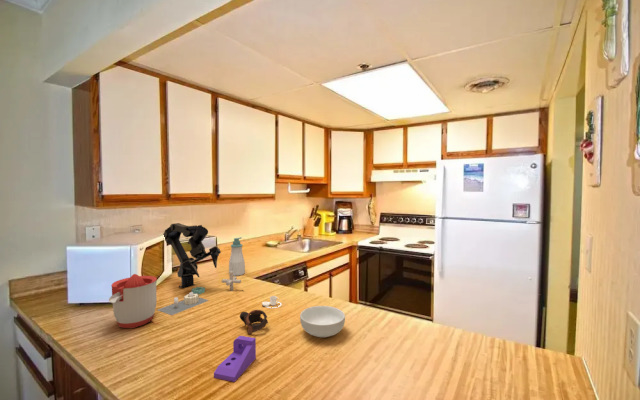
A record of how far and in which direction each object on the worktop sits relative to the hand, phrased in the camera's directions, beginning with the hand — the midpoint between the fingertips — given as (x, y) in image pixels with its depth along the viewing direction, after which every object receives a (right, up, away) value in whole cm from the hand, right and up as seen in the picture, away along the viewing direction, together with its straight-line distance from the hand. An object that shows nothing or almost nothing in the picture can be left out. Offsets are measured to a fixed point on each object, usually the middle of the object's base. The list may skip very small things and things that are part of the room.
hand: (207, 272), depth 148 cm
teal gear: (-5, -12, +2) cm, 13 cm away
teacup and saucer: (+33, -13, -9) cm, 37 cm away
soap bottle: (+4, -11, +38) cm, 40 cm away
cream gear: (-3, -11, -11) cm, 16 cm away
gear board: (-5, -13, -14) cm, 20 cm away
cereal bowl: (+58, -14, -38) cm, 71 cm away
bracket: (+32, -15, -59) cm, 69 cm away
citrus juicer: (-18, -14, -30) cm, 37 cm away
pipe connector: (+10, -12, +8) cm, 17 cm away
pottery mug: (+31, -14, -34) cm, 48 cm away
